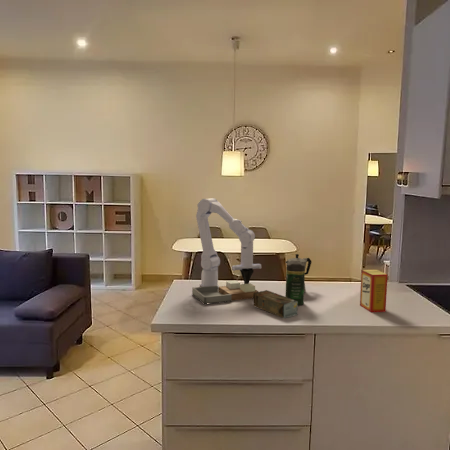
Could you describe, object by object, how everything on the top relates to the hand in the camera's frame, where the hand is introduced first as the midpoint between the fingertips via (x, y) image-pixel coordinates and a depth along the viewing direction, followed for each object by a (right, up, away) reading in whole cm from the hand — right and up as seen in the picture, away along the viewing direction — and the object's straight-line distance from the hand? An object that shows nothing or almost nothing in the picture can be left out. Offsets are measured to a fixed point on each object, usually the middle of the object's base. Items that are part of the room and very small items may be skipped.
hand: (246, 284), depth 200 cm
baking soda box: (+52, -7, -23) cm, 57 cm away
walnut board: (-4, -4, -5) cm, 8 cm away
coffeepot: (+25, -4, +5) cm, 26 cm away
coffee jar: (+20, -6, -17) cm, 27 cm away
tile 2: (0, -1, -8) cm, 8 cm away
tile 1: (-6, 0, -3) cm, 7 cm away
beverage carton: (+10, -7, -27) cm, 30 cm away
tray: (-16, -5, -10) cm, 20 cm away
